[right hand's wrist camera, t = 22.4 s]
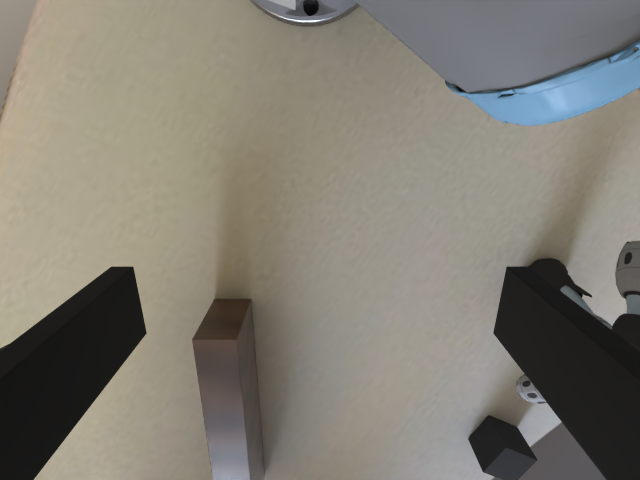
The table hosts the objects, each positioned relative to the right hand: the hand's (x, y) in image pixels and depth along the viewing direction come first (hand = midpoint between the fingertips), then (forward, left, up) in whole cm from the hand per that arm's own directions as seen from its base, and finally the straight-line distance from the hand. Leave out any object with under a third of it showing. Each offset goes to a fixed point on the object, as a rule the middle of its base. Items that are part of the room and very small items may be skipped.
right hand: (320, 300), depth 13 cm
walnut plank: (+30, +12, -27) cm, 42 cm away
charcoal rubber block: (+11, +43, -27) cm, 52 cm away
